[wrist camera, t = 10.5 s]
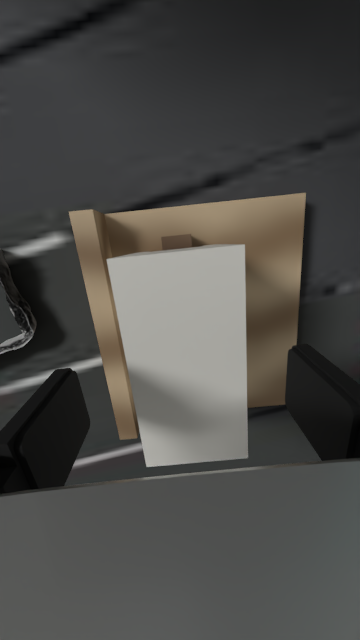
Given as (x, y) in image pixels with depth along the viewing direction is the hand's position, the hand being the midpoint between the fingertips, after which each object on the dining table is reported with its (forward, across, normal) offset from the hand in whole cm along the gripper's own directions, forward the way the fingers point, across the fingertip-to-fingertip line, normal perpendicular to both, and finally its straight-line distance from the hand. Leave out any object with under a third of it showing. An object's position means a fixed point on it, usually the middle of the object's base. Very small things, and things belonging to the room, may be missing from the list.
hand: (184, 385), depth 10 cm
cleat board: (+11, -2, +1) cm, 11 cm away
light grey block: (+10, 0, +1) cm, 10 cm away
